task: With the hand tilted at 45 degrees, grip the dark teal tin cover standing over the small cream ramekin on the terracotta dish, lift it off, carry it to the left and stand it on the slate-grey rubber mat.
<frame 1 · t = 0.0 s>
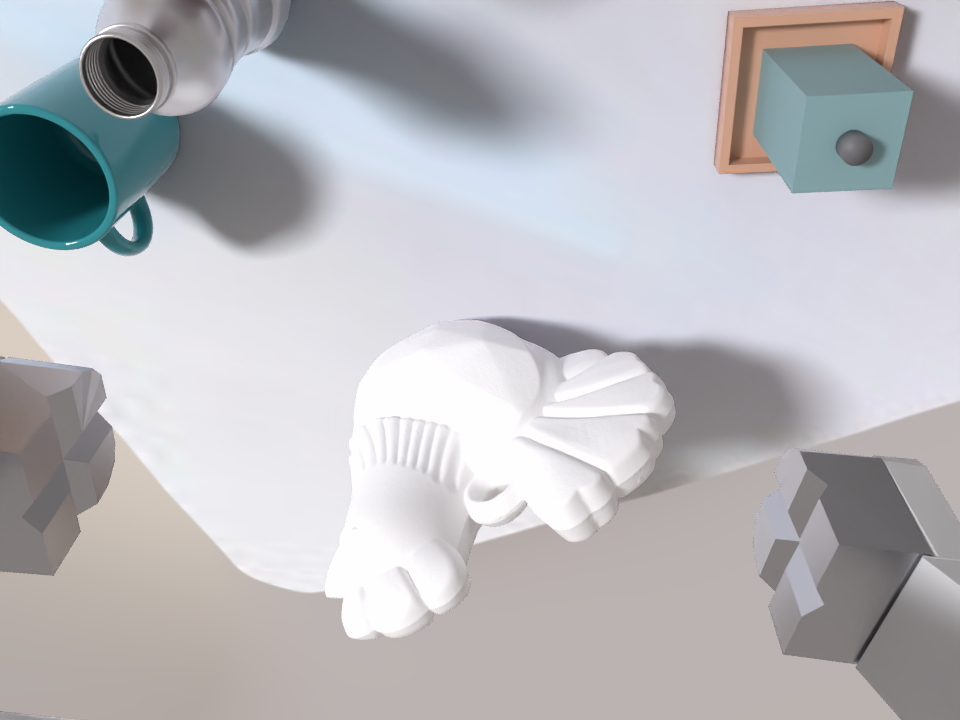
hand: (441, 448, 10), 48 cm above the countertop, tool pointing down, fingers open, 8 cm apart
dish: (798, 87, 54), on the countertop
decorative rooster: (506, 370, 68), on the countertop
cover: (800, 90, 53), point 1 cm above the countertop, touching dish
cup: (130, 138, 58), on the countertop
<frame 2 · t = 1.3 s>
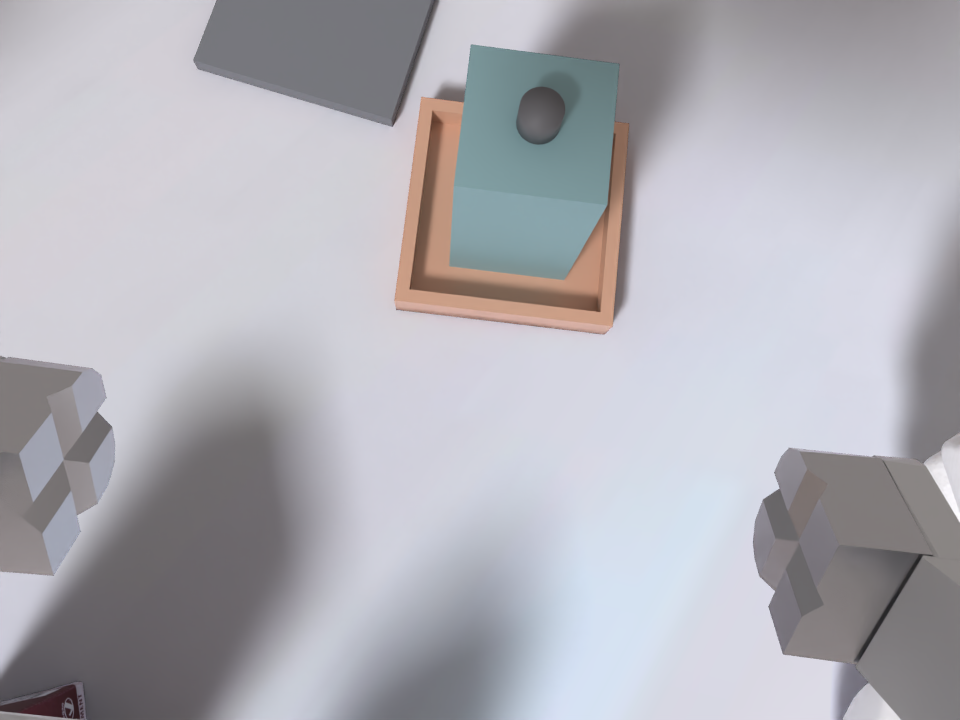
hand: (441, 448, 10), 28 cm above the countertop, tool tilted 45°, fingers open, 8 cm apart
mat: (323, 18, 41), on the countertop
dish: (511, 222, 40), on the countertop
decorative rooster: (948, 706, 37), on the countertop
cover: (512, 218, 40), point 1 cm above the countertop, touching dish
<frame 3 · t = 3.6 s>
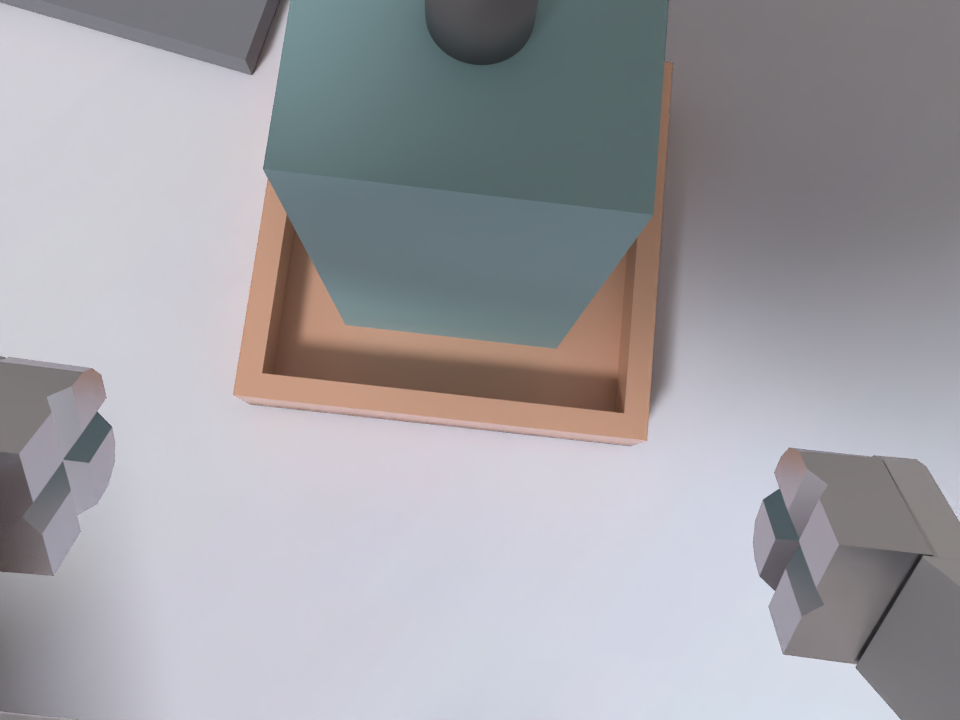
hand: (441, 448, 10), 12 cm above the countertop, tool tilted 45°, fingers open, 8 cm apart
dish: (462, 243, 22), on the countertop
cover: (462, 236, 22), point 1 cm above the countertop, touching dish
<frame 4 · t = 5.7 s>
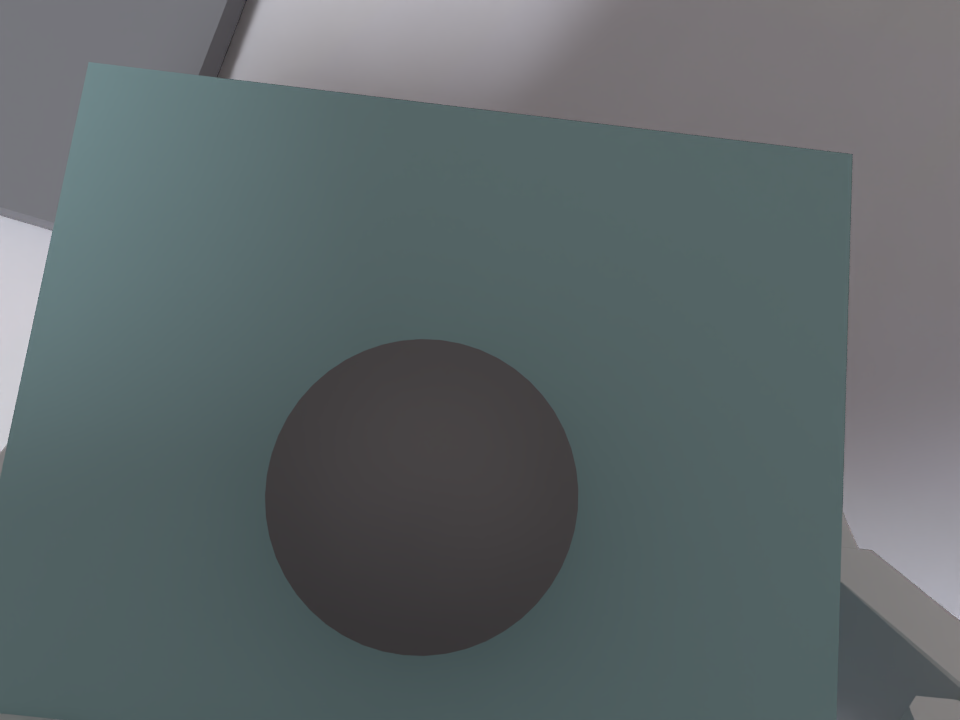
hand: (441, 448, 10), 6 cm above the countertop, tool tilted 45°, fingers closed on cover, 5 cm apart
cover: (439, 504, 15), point 1 cm above the countertop, touching dish, gripper
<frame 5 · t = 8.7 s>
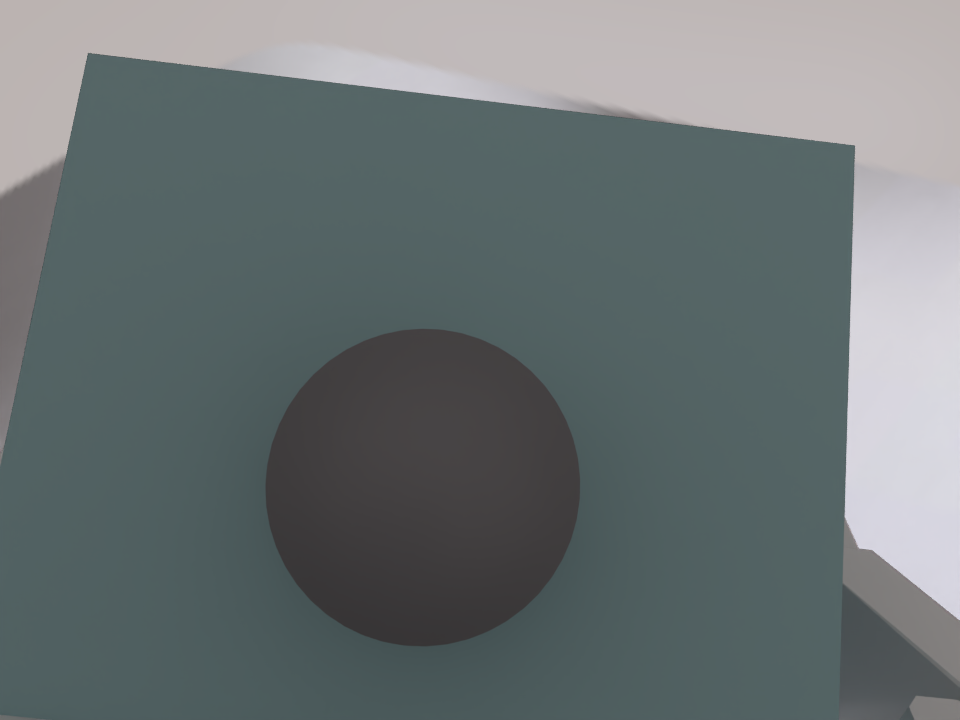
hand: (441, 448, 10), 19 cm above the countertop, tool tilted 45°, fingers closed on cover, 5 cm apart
cover: (440, 500, 15), point 14 cm above the countertop, touching gripper
when the fingers open (8 cm above the countertop, at t = 11.9 s): cover drops 1 cm, resting on mat.
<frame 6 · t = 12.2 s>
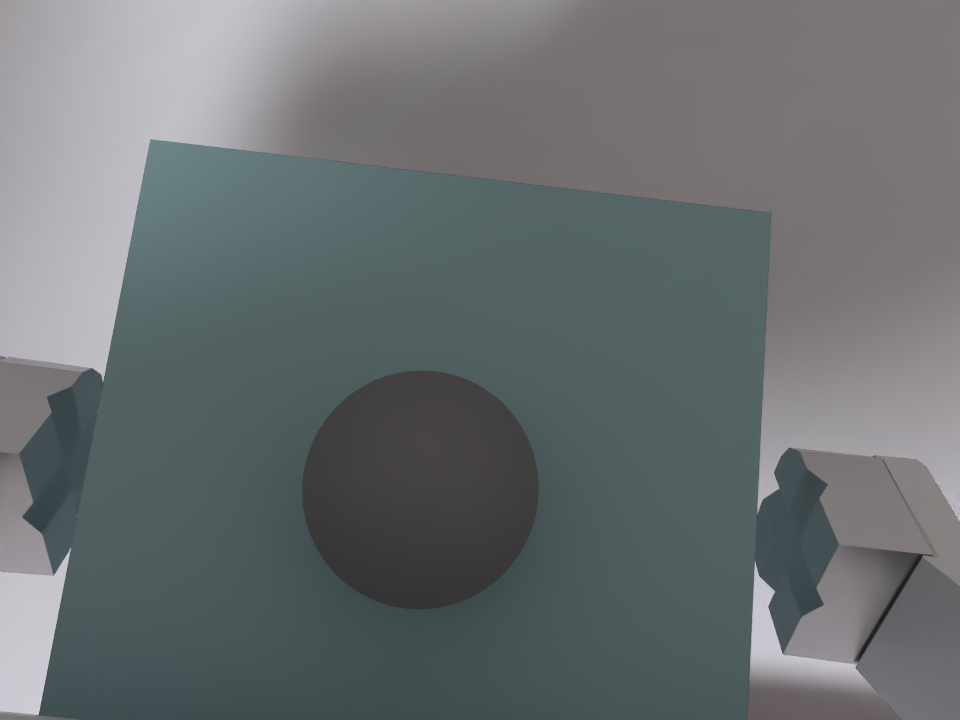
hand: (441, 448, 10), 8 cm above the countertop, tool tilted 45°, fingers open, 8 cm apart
cover: (438, 501, 17), point 1 cm above the countertop, touching mat
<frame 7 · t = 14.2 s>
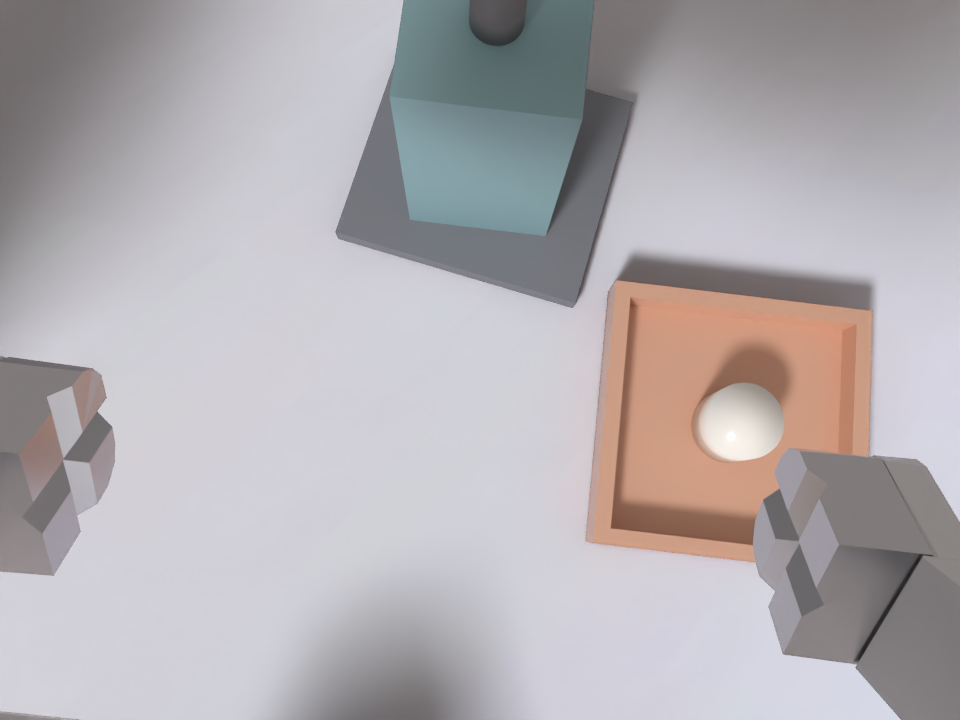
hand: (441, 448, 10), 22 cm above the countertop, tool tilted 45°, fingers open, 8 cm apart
mat: (486, 173, 34), on the countertop
dish: (721, 428, 33), on the countertop
cover: (485, 164, 34), point 1 cm above the countertop, touching mat
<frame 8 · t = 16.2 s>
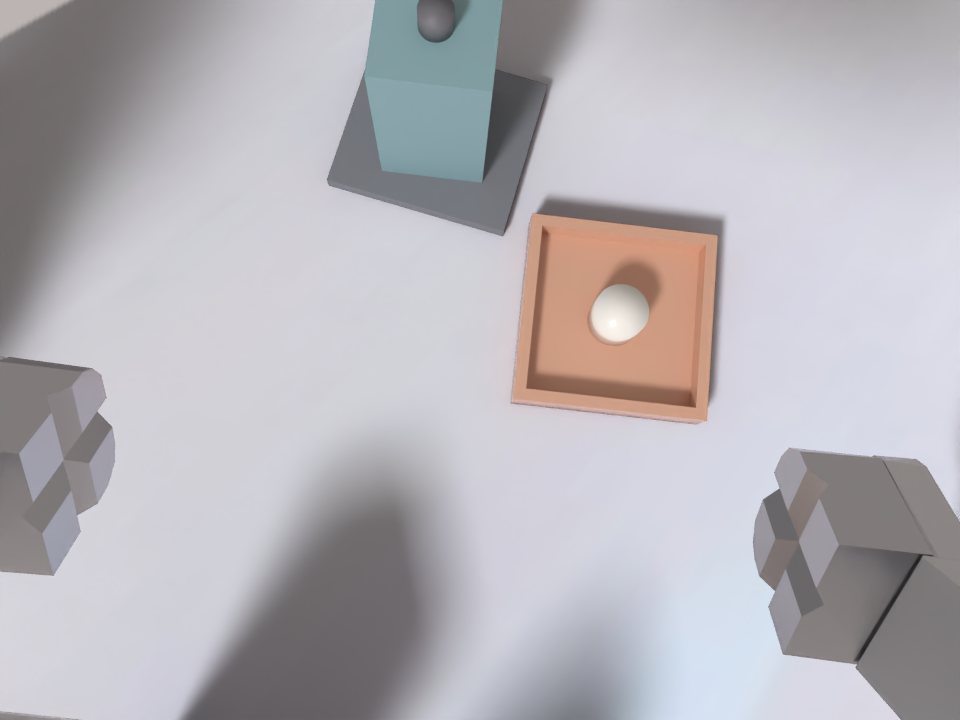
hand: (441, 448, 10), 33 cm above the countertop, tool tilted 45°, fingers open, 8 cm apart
mat: (439, 137, 46), on the countertop
dish: (611, 322, 45), on the countertop
cover: (437, 130, 45), point 1 cm above the countertop, touching mat
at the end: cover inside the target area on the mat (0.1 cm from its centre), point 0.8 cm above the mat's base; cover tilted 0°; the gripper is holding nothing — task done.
